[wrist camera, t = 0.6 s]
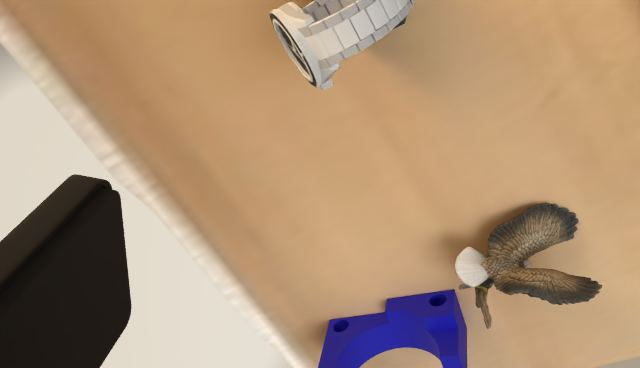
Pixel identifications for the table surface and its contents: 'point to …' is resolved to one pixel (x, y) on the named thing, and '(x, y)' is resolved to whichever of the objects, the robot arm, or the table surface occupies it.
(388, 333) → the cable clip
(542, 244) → the eagle figurine
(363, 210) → the table surface
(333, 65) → the watch
